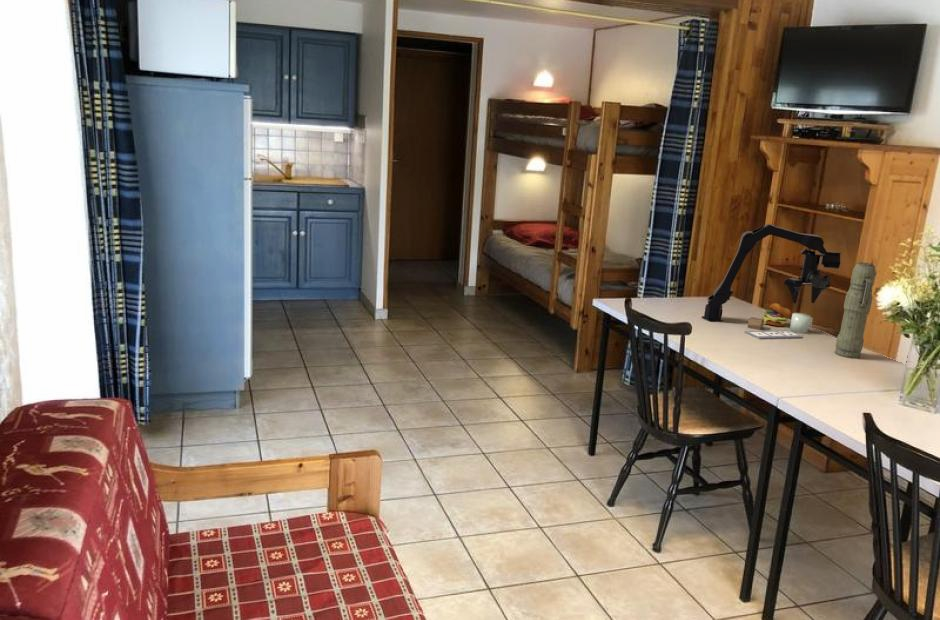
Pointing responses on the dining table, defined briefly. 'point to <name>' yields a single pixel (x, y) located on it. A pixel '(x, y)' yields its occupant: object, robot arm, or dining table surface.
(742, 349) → the dining table surface
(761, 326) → the brown wooden block
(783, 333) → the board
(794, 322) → the mug
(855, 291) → the thermos
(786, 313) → the cheeseburger
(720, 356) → the dining table surface
